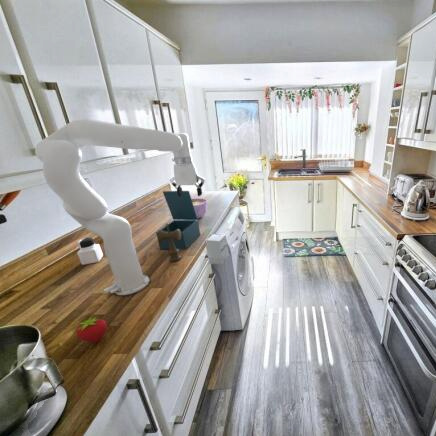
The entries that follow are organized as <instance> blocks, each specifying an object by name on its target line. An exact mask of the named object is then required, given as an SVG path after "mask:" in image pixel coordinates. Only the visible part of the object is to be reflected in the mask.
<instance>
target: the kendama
mask: <svg viewBox="0 0 436 436" xmlns="http://www.w3.org/2000/svg"><path fill="white" fill-rule="evenodd" d="M168 224H169V223H167V222H166V223H165V226H166V227H167V231H168V232H165V231H163V230H161V229H162V228H160V229H157V231H158V232H157V231H156V232H157V235H156V239H157V242H158V241H159V242H162V241H163V240H165V239H167V238H169V244H170V249H169V251H168V254H169V262H178V261H179V260H181V258H182V256H181V255H179V251H180V249H176V247H175V245H174V243H173V240H172V238H173V239H175V240H180V239H181V231H180V229H177V230H175V231H173V232H170V230H169V227H168ZM159 242H158V243H159Z"/></svg>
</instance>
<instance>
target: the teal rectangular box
mask: <svg viewBox="0 0 436 436" xmlns="http://www.w3.org/2000/svg"><path fill="white" fill-rule="evenodd" d="M167 224H168V227H169V230H170V232H173V231H175V230H177V229H180V231H181V239H180V240H175V239H173V238H172V240H173V243H174V245H175V247H176V249H178V250H187V249H188V248H189V247H190V246H191V245H193V243H194V242H195V241H196V240H197V239H198V238H199V237H201V230H200V226H199V220H198V219H197V220H173V219H172V220H171V221H170V222H169V223H167ZM160 229H161V230H163V231H165V232H168V231H167V227H166V225H164V226H163V227H162V228H160ZM157 232H158V230H157V231H156V232H155V234H156V236H157ZM157 242H158V246H159V249H160V250H170V244H169V238H167V239H165V240H163V241H162V242H159V241H158V240H157Z"/></svg>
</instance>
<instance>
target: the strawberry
mask: <svg viewBox="0 0 436 436" xmlns="http://www.w3.org/2000/svg"><path fill="white" fill-rule="evenodd" d="M78 324H79V327H77V329H76V330H75V331H76V332H75V333H76V337H77V338H78V339H80V340H81V341H83V342H88V343H94V344H96V343H99V342H101V340H102V338H103V337H104V336H105V334H106V332H107V330H108V323H107V322H106V320H104V319H100V318H98V317H97V316H96V317H93V318H92V317H91V316H90V317H89V318H88V319H84V321H83V322H80V323H78Z"/></svg>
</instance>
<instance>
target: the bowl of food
mask: <svg viewBox="0 0 436 436" xmlns="http://www.w3.org/2000/svg"><path fill="white" fill-rule="evenodd" d="M191 199H192V202H193V205H194V209H195V212H196V215H197V218H198V219H200V218H202V217H203V216H204V215H205V214H206V213H207V208H208V199H206V198H201V197H200V198H198V197H197V198H196V197H195V198H191Z"/></svg>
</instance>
